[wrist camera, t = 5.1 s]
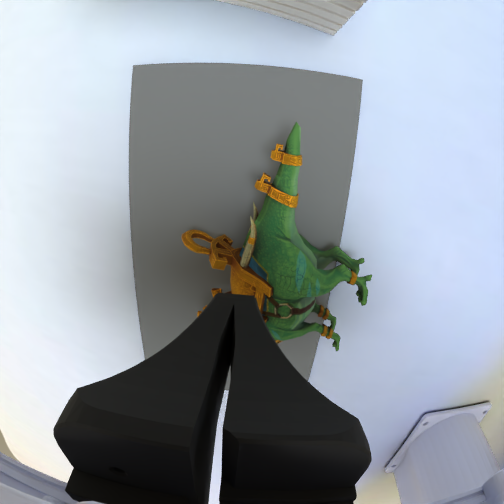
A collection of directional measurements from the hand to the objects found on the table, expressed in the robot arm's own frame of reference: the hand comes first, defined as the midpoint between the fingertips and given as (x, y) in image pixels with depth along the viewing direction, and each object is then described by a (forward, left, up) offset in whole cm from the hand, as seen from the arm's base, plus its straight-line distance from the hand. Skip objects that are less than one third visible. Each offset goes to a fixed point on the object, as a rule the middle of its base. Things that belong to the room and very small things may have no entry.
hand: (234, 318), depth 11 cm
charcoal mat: (0, 0, -5) cm, 5 cm away
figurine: (0, -6, -3) cm, 6 cm away
